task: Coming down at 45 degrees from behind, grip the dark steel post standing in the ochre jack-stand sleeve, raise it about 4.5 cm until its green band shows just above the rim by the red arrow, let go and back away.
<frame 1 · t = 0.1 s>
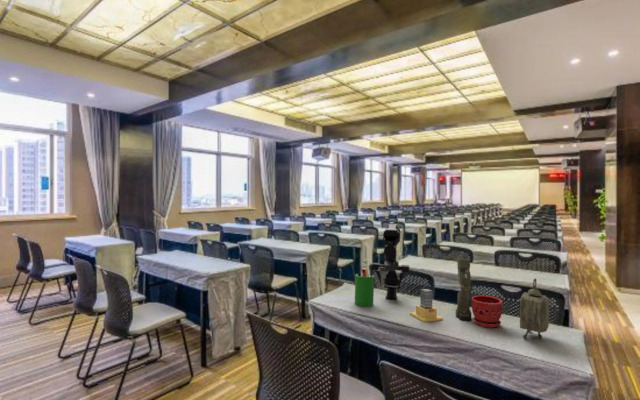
hand: (389, 284, 172), 15 cm above the table, tool pointing down, fingers open, 9 cm apart
mechanical leg: (462, 316, 170), on the table
column: (426, 302, 168), point 7 cm above the table, slide at 0.0 cm
green pencil holder: (364, 304, 187), on the table
stand base: (426, 317, 168), on the table
plant pot: (486, 324, 160), on the table
tabletop clock: (534, 337, 146), on the table
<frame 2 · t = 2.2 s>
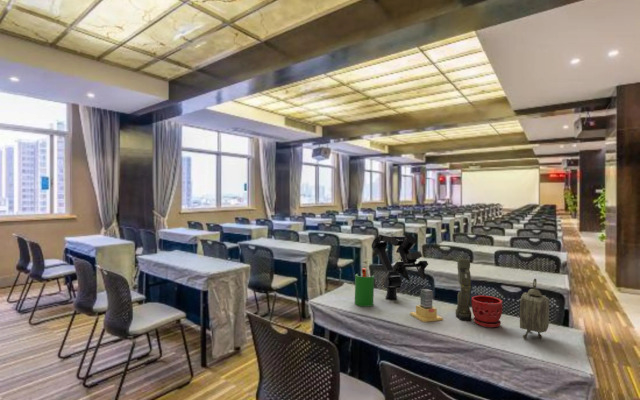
hand: (416, 279, 176), 16 cm above the table, tool tilted 45°, fingers open, 9 cm apart
nothing on the table moved.
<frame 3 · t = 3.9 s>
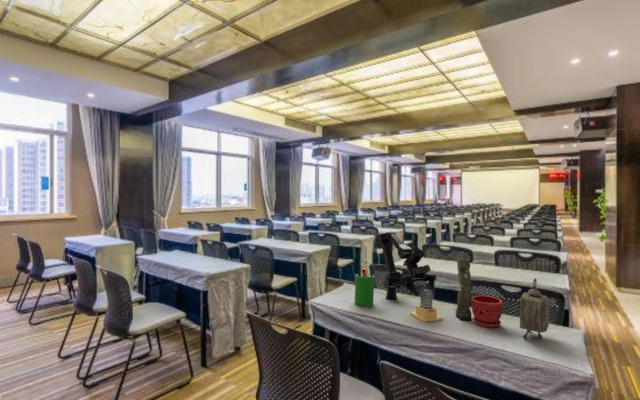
hand: (425, 294, 169), 11 cm above the table, tool tilted 45°, fingers open, 9 cm apart
nothing on the table moved.
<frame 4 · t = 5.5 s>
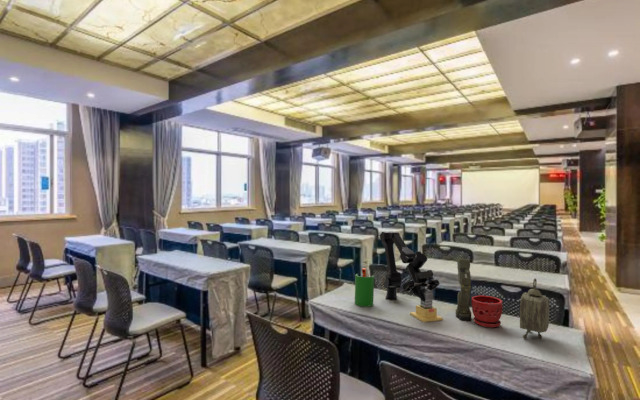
hand: (428, 300, 167), 9 cm above the table, tool tilted 45°, fingers closed on column, 4 cm apart
column: (426, 302, 168), point 7 cm above the table, slide at 0.0 cm, touching gripper
everything else where it was.
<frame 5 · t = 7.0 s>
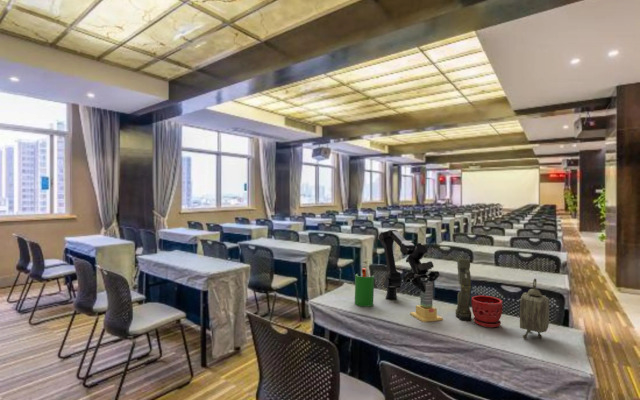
hand: (428, 291, 167), 13 cm above the table, tool tilted 45°, fingers closed on column, 4 cm apart
column: (426, 293, 168), point 12 cm above the table, slide at 4.2 cm, touching gripper
everything else where it was.
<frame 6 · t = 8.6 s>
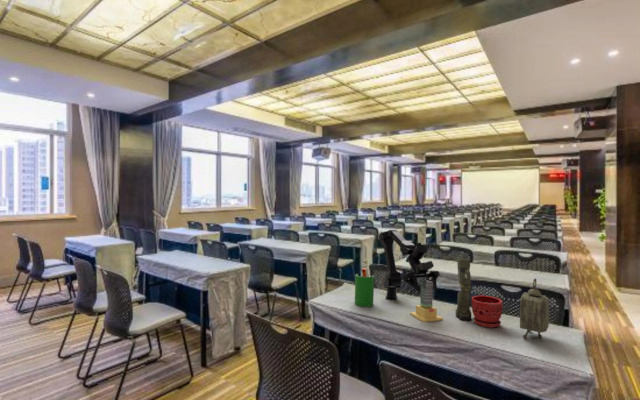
hand: (428, 291, 167), 13 cm above the table, tool tilted 45°, fingers open, 9 cm apart
column: (426, 293, 168), point 12 cm above the table, slide at 4.3 cm
everything else where it was.
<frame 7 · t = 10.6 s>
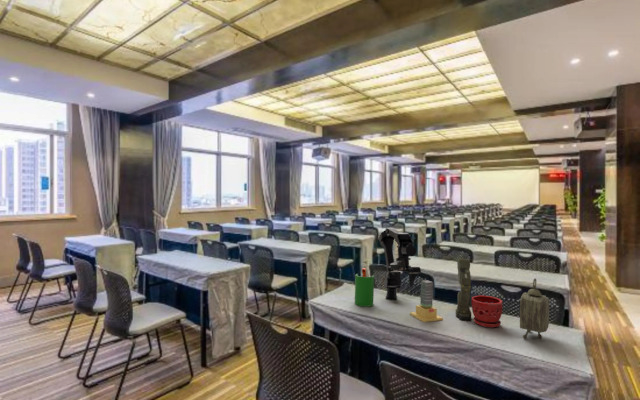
hand: (404, 285, 182), 12 cm above the table, tool pointing down, fingers open, 9 cm apart
nothing on the table moved.
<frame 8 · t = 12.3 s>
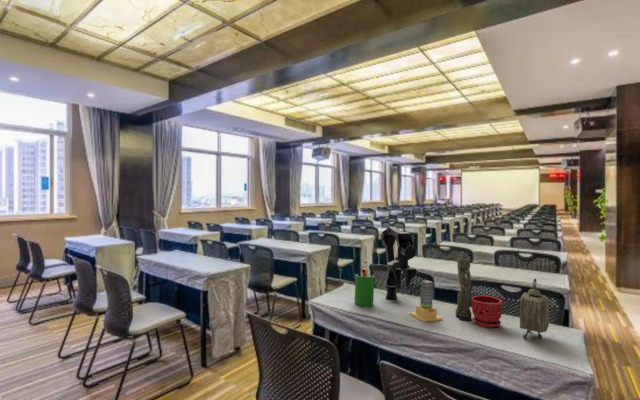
hand: (402, 284, 183), 12 cm above the table, tool pointing down, fingers open, 9 cm apart
nothing on the table moved.
at the end: column slide at 4.3 cm; the gripper is holding nothing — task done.
